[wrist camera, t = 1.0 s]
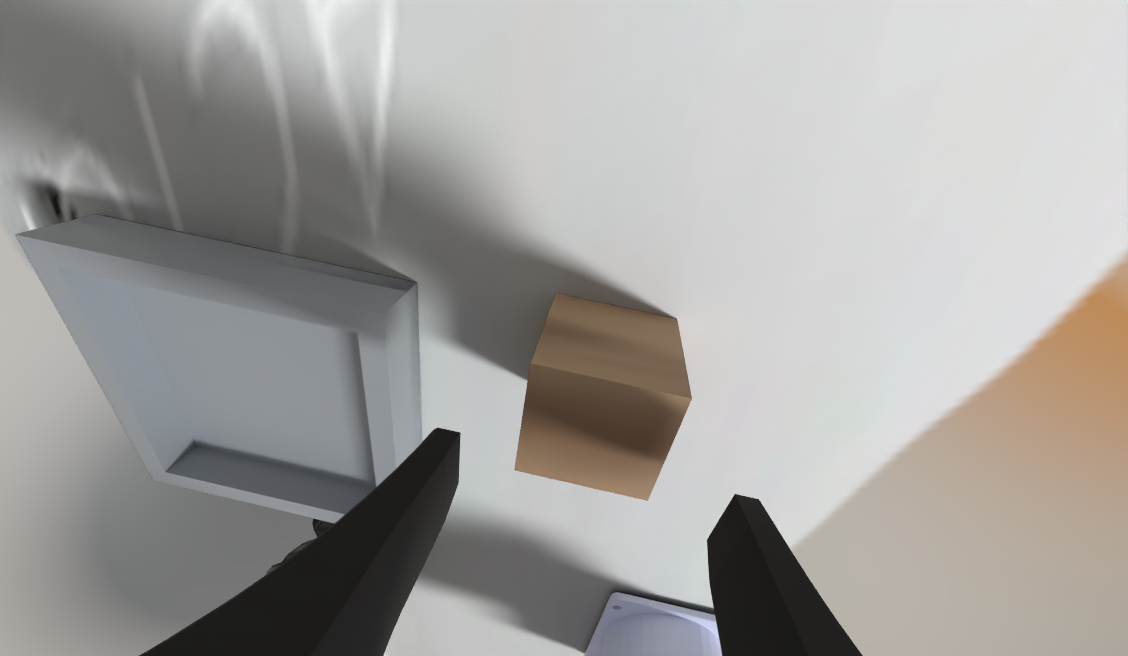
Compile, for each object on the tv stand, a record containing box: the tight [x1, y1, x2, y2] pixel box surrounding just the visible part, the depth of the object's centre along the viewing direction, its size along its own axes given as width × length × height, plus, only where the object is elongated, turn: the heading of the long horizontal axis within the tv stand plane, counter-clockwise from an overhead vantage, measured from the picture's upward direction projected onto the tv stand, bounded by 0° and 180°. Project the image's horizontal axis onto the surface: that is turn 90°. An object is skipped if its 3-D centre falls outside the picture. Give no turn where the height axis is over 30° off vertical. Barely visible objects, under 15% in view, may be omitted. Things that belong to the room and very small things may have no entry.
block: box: [515, 293, 692, 501], centre depth 14 cm, size 4×4×4 cm
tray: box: [14, 214, 422, 523], centre depth 18 cm, size 13×13×2 cm
